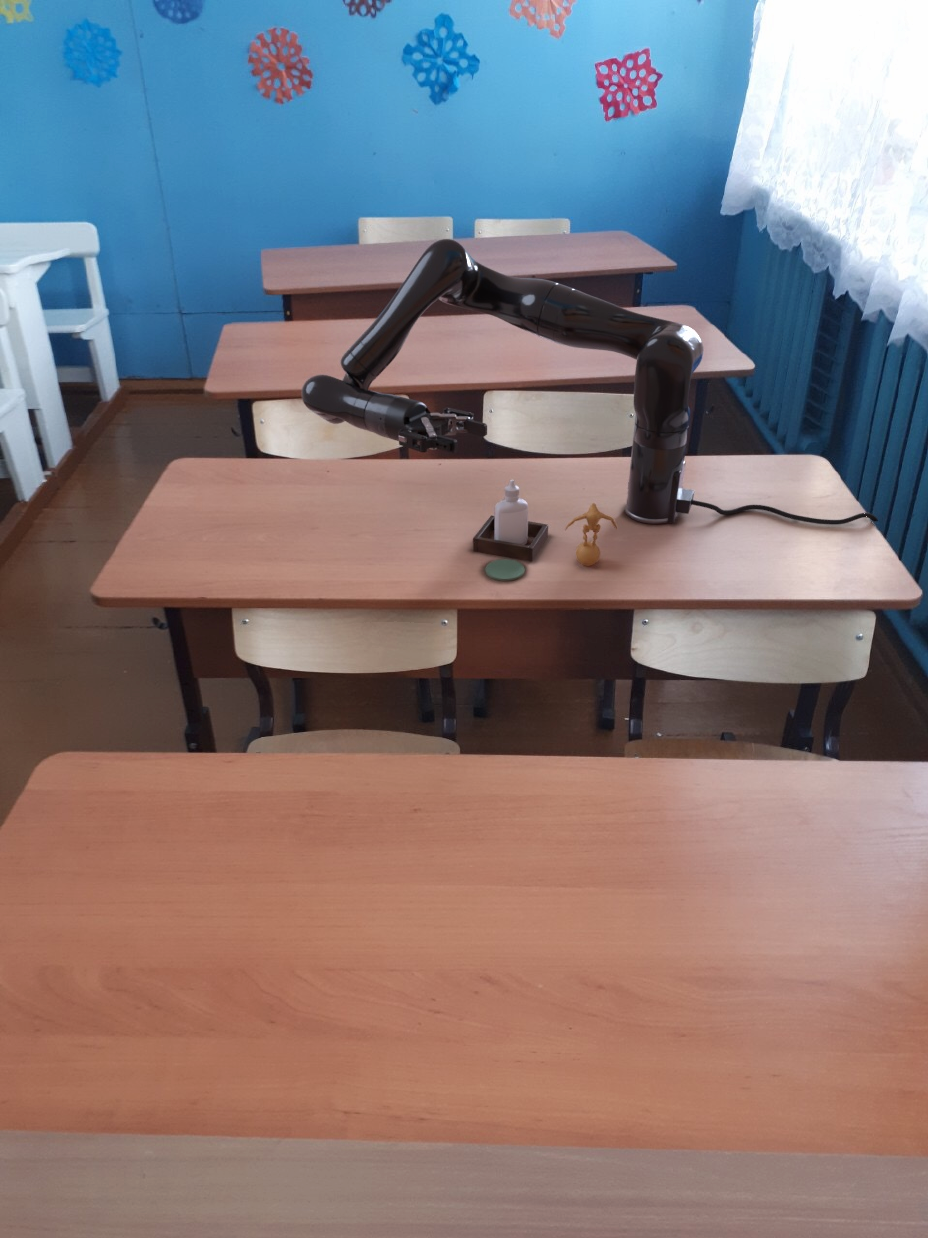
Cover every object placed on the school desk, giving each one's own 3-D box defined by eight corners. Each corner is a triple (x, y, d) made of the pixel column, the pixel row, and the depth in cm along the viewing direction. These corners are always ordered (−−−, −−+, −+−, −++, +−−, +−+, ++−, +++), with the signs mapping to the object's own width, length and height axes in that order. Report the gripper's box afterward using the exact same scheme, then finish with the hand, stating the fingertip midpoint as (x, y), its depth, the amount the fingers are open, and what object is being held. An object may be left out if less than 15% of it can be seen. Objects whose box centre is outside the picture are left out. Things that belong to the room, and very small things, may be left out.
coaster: (529, 564, 145) (529, 562, 145) (517, 583, 140) (517, 581, 140) (493, 558, 147) (493, 556, 147) (480, 576, 142) (480, 574, 142)
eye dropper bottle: (525, 551, 149) (527, 486, 142) (493, 548, 150) (493, 484, 143) (528, 539, 152) (530, 475, 146) (496, 536, 153) (497, 473, 147)
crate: (547, 537, 153) (548, 524, 152) (532, 561, 146) (532, 548, 145) (490, 527, 156) (491, 515, 155) (473, 551, 149) (472, 538, 148)
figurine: (610, 557, 147) (616, 492, 140) (615, 575, 142) (622, 509, 135) (560, 558, 147) (564, 493, 140) (564, 576, 142) (568, 510, 135)
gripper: (368, 409, 147) (445, 430, 139) (421, 386, 156) (495, 404, 148) (371, 451, 151) (446, 473, 143) (422, 426, 160) (495, 445, 152)
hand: (471, 438), depth 146 cm, fingers open, 8 cm apart
